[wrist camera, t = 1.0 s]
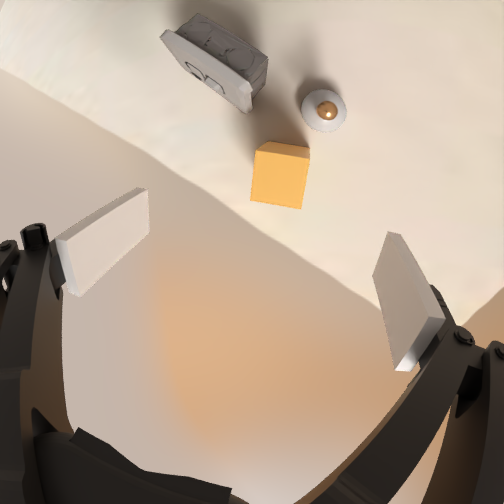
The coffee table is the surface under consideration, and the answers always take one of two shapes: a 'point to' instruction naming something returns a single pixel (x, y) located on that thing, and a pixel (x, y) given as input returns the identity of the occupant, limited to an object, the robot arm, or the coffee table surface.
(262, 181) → the yellow upright square block
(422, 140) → the coffee table surface
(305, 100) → the base
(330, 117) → the brass peg
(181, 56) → the electrical switch
